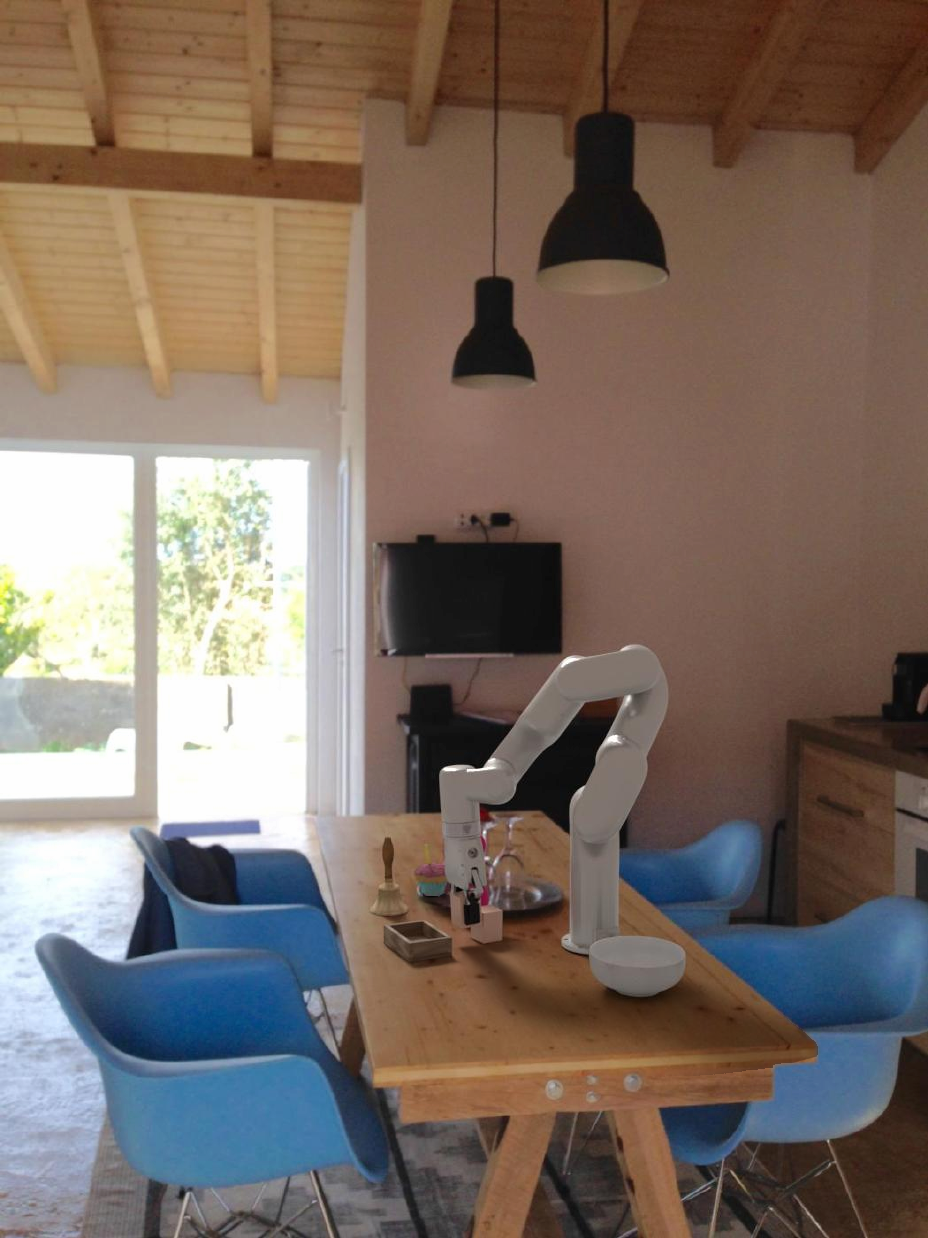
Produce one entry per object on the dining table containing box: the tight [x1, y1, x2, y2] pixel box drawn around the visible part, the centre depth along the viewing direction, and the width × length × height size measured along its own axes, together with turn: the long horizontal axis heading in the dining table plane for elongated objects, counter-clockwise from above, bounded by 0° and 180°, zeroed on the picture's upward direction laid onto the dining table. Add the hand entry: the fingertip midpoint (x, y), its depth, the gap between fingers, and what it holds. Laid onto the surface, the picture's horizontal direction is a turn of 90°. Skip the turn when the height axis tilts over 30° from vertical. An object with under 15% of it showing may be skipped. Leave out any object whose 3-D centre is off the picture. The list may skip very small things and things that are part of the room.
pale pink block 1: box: [449, 891, 482, 930], centre depth 236 cm, size 4×4×6 cm
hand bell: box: [369, 836, 409, 917], centre depth 258 cm, size 8×8×16 cm
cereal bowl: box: [588, 935, 687, 998], centre depth 210 cm, size 17×17×7 cm
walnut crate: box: [383, 919, 453, 963], centre depth 232 cm, size 13×9×4 cm
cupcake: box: [413, 841, 449, 896], centre depth 272 cm, size 9×8×12 cm
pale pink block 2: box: [470, 904, 504, 944], centre depth 239 cm, size 4×4×6 cm
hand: (466, 920), depth 236 cm, fingers closed on pale pink block 1, 4 cm apart
